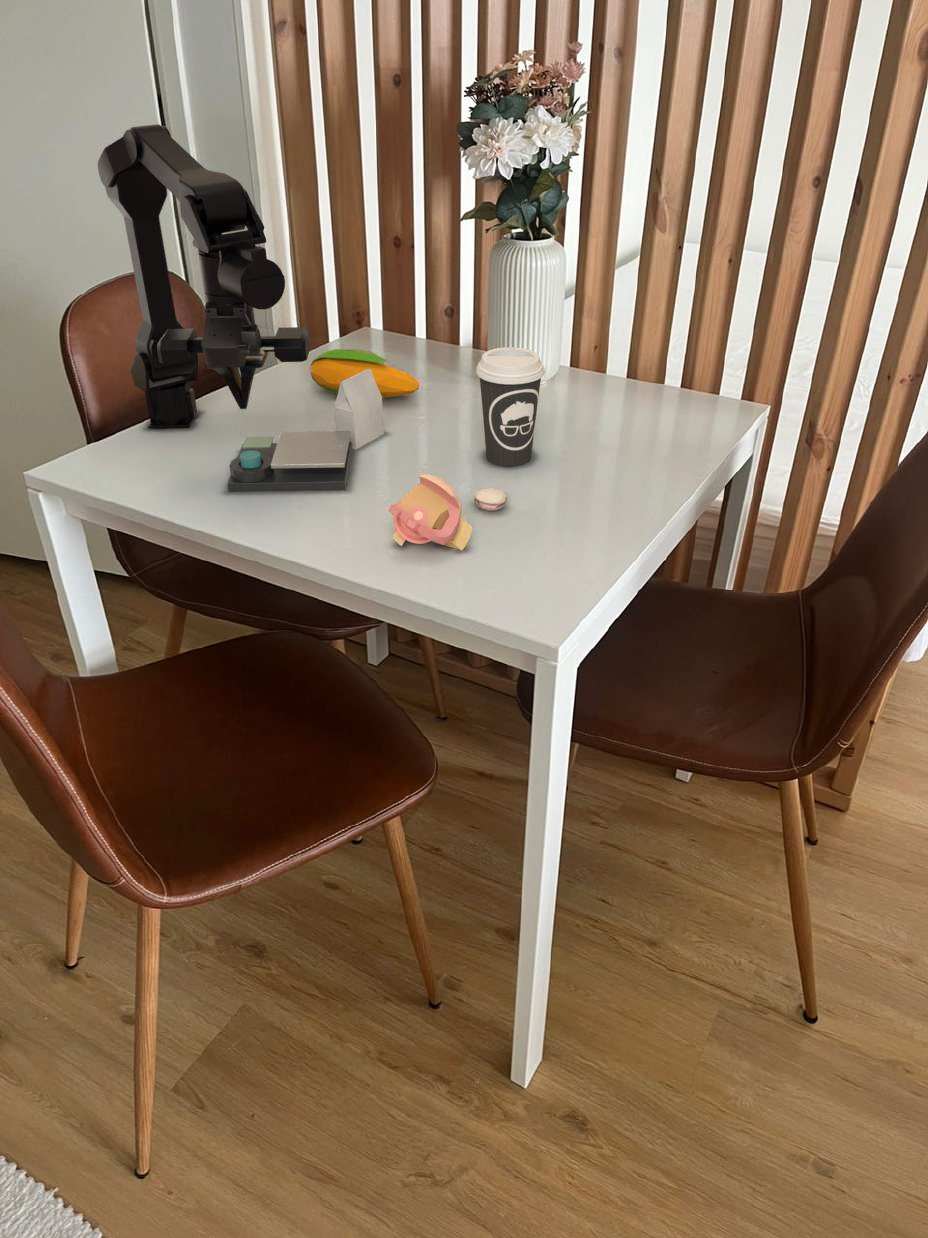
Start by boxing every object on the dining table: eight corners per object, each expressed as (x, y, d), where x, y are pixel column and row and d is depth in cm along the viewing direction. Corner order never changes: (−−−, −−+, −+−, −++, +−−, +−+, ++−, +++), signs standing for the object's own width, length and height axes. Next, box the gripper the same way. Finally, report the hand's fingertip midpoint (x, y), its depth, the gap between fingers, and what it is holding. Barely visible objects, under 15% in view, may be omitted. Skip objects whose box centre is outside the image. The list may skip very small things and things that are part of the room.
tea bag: (384, 434, 153) (380, 370, 147) (355, 449, 148) (351, 385, 143) (365, 428, 155) (360, 366, 149) (336, 444, 150) (331, 379, 145)
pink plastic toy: (382, 532, 129) (424, 470, 129) (446, 576, 129) (488, 514, 129) (374, 528, 120) (419, 461, 119) (443, 575, 120) (488, 509, 119)
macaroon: (468, 507, 133) (468, 490, 132) (492, 494, 136) (492, 477, 135) (493, 517, 131) (493, 500, 130) (517, 503, 134) (517, 486, 133)
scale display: (242, 448, 142) (241, 446, 142) (246, 437, 145) (245, 436, 145) (270, 448, 142) (270, 446, 142) (273, 437, 145) (273, 435, 145)
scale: (228, 492, 137) (225, 472, 136) (243, 452, 148) (241, 433, 146) (345, 490, 138) (343, 470, 136) (352, 450, 148) (350, 431, 147)
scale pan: (270, 468, 137) (270, 464, 136) (281, 435, 146) (280, 431, 145) (344, 467, 137) (344, 463, 136) (350, 434, 146) (350, 430, 145)
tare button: (239, 469, 137) (238, 459, 136) (242, 460, 140) (241, 450, 139) (260, 469, 137) (258, 459, 136) (263, 460, 140) (261, 450, 139)
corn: (321, 335, 167) (429, 352, 160) (326, 378, 172) (432, 396, 165) (298, 353, 162) (408, 370, 155) (304, 396, 167) (412, 415, 160)
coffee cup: (551, 449, 148) (555, 350, 140) (526, 476, 141) (530, 373, 132) (491, 438, 151) (492, 341, 143) (465, 464, 144) (464, 363, 136)
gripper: (136, 310, 118) (159, 434, 127) (294, 308, 118) (307, 431, 127) (158, 283, 127) (178, 400, 136) (305, 281, 128) (316, 398, 136)
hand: (243, 408), depth 134 cm, fingers closed
